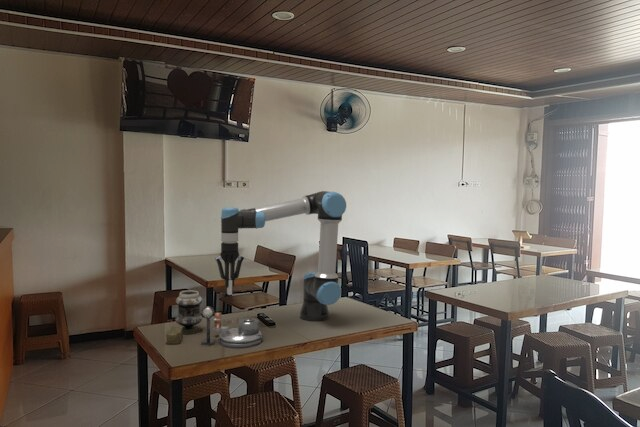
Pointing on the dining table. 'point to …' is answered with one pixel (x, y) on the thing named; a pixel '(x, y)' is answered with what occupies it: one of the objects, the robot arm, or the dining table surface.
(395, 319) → the dining table surface
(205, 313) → the dial gauge stand
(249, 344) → the turntable base
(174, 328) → the stone block
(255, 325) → the cover
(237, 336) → the turntable
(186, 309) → the apothecary jar
